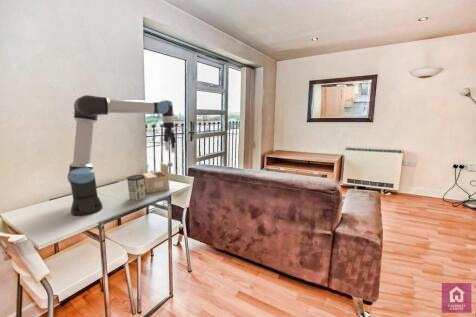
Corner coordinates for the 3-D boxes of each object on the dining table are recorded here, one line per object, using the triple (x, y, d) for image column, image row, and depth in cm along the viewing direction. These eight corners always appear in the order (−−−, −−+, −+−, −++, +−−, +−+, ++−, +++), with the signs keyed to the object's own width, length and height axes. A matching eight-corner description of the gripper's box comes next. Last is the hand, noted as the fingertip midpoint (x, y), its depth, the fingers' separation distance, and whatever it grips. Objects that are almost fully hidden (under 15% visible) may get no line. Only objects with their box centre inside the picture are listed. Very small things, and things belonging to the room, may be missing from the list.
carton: (149, 193, 163) (147, 178, 161) (143, 187, 178) (141, 173, 176) (169, 189, 171) (168, 175, 169) (162, 184, 186) (160, 170, 184)
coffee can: (134, 195, 160) (132, 174, 158) (149, 195, 159) (147, 174, 157) (126, 200, 150) (123, 178, 148) (141, 200, 149) (139, 178, 147)
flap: (167, 164, 168) (176, 163, 172) (160, 161, 182) (169, 160, 186) (167, 175, 169) (176, 174, 173) (160, 170, 183) (169, 170, 187)
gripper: (179, 122, 165) (181, 152, 168) (168, 121, 185) (170, 149, 189) (168, 122, 161) (170, 153, 164) (158, 122, 181) (160, 150, 185)
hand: (170, 151), depth 177 cm, fingers open, 13 cm apart
